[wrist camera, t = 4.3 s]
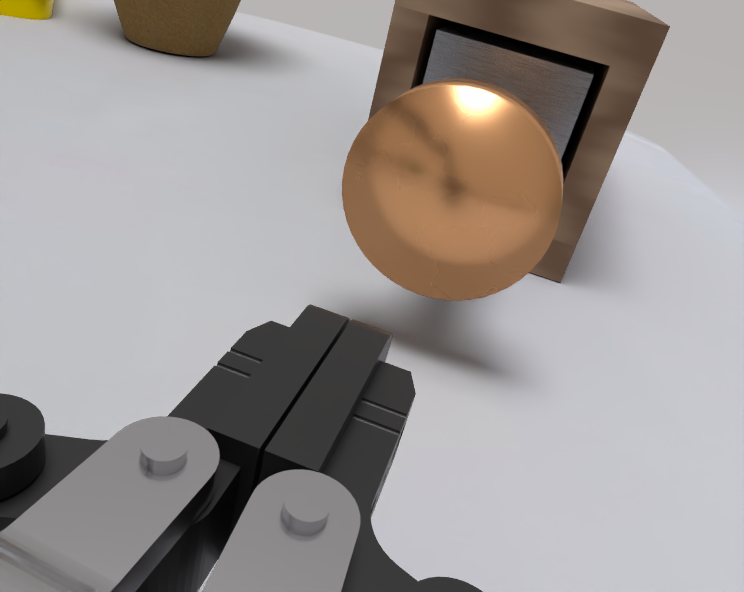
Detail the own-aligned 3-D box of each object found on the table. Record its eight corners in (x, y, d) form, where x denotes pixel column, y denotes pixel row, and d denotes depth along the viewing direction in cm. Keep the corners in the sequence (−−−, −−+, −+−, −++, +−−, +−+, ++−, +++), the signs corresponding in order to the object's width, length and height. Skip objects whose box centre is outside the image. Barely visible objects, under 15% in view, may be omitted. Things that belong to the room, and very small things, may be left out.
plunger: (324, 261, 23) (368, 57, 19) (437, 134, 41) (470, 16, 37) (516, 328, 22) (598, 126, 18) (546, 168, 40) (591, 50, 36)
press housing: (347, 211, 34) (405, -46, 28) (437, 119, 54) (481, -39, 48) (560, 282, 32) (670, 26, 26) (569, 160, 53) (631, 1, 47)
